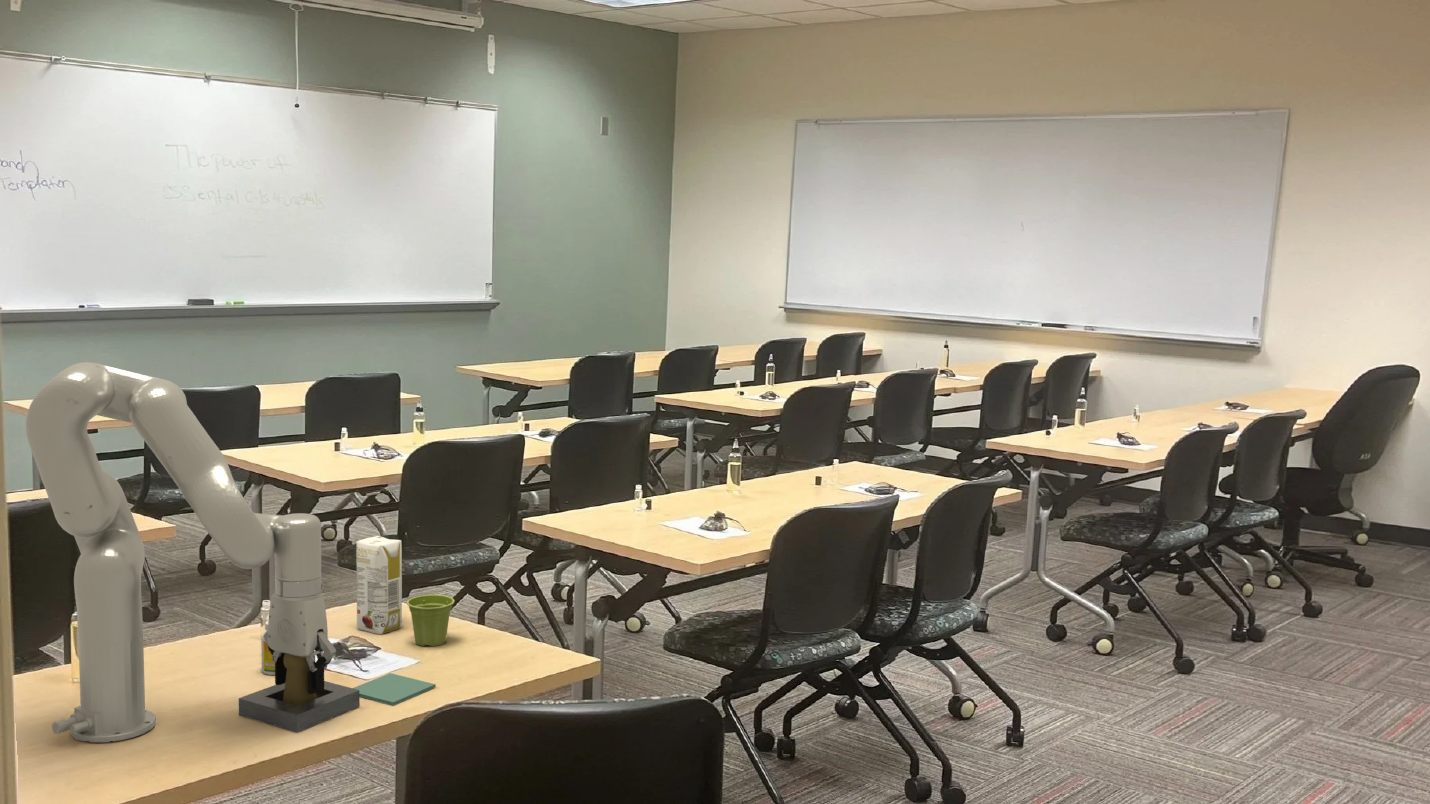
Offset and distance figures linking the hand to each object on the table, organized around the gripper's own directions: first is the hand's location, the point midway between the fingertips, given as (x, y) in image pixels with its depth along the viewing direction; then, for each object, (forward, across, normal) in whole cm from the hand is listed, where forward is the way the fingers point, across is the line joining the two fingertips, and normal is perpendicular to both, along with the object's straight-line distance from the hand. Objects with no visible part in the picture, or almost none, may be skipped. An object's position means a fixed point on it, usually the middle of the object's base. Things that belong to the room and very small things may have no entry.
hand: (299, 686), depth 214 cm
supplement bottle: (+5, -19, +12) cm, 23 cm away
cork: (+5, 0, 0) cm, 5 cm away
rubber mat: (+4, +6, +16) cm, 18 cm away
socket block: (+4, 0, 0) cm, 4 cm away
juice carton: (+5, -22, +42) cm, 48 cm away
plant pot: (+5, -7, +41) cm, 42 cm away
